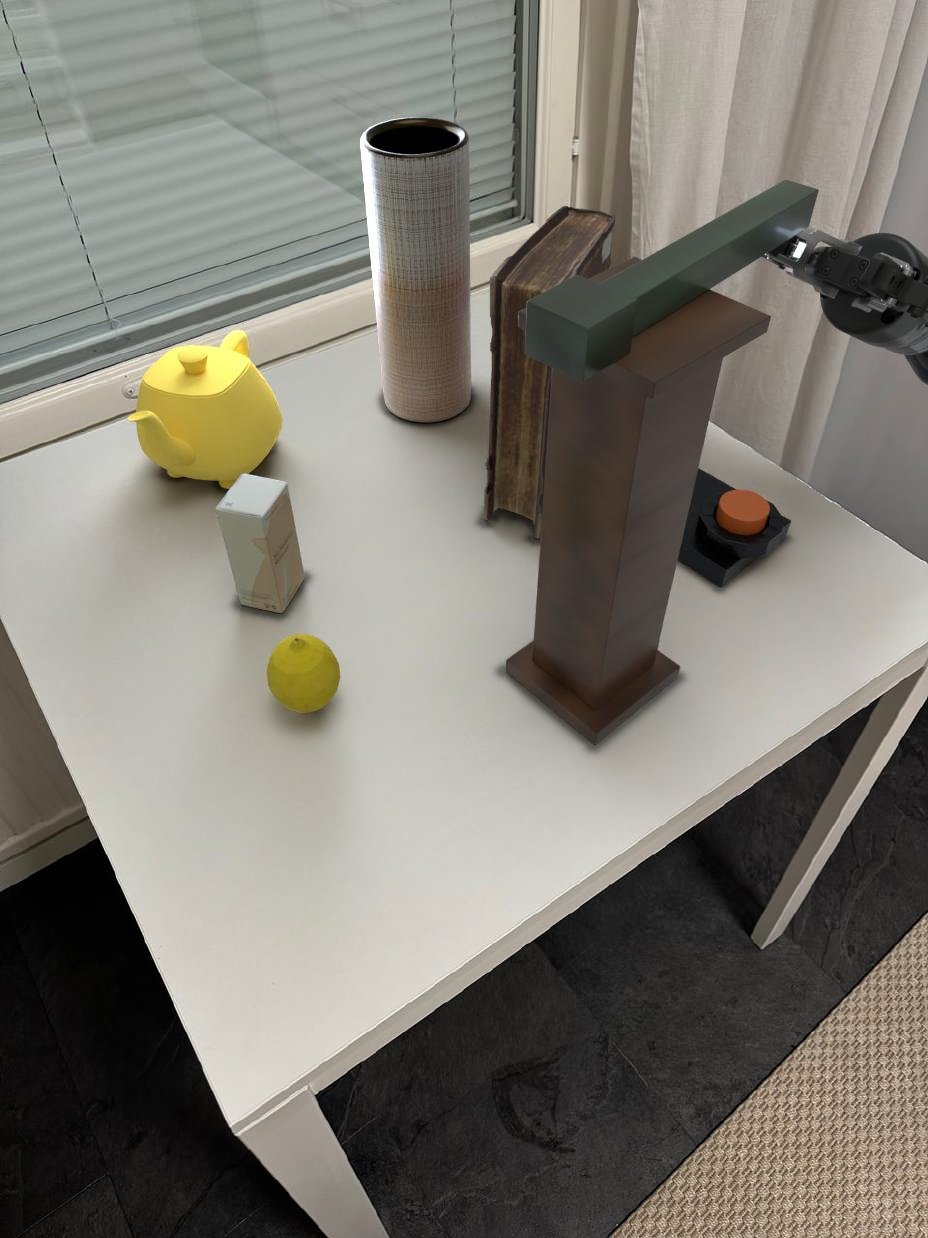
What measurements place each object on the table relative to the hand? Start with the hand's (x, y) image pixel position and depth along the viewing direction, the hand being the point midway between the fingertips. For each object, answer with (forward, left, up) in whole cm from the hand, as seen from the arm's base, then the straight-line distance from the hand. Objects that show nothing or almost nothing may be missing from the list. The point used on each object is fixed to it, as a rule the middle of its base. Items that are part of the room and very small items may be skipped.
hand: (813, 248), depth 59 cm
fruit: (+13, +36, -30) cm, 49 cm away
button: (+1, -4, -27) cm, 27 cm away
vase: (+40, +1, -30) cm, 50 cm away
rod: (0, +13, +2) cm, 13 cm away
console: (+5, -4, -30) cm, 31 cm away
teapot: (+46, +25, -30) cm, 61 cm away
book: (+20, +2, -30) cm, 36 cm away
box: (+26, +31, -30) cm, 51 cm away
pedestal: (0, +17, -30) cm, 35 cm away
